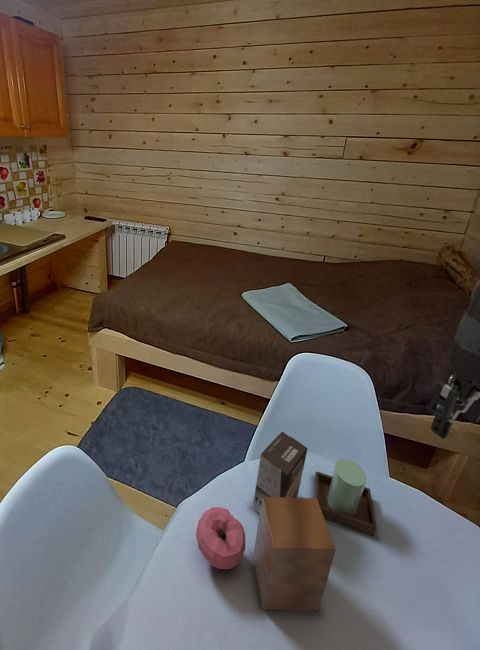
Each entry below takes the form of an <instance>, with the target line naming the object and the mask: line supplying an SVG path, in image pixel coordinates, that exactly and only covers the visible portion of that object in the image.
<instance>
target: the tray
mask: <svg viewBox="0 0 480 650" xmlns="http://www.w3.org/2000/svg"><path fill="white" fill-rule="evenodd" d="M332 476H333V475H329V474H326V473H323V472H321V471H317V470H316V471H315V474H314V478H313V487H314V490H313V491H314V492H313V493H314V495H313V497H314V498H317V500H318V503H319V506H320V508H321V511H322V514H323V516H324V519H325V520H328V521H331V522H334V523H337V524H339V525H341V526H344V527H347V528H351V529H353V530H355V531H358V532H361V533H364V534H366V535H370V536H372V537H374V536H375V534H376V531H377V523H376V517H375V511H374V505H373V500H372V493H371V488H369V487H366V486H365V487H364V491H363V494H362V497H361V501H360V504H359V508H358V511H357V514H356V516H354V517H351V516H348V515H345V514H343V513H340V512H337V511H334V510H332V508H331V507H330V505H329V503H328V499H327V496H328V492H329V488H330V484H331V480H332Z"/></svg>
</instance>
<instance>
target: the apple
mask: <svg viewBox="0 0 480 650" xmlns="http://www.w3.org/2000/svg"><path fill="white" fill-rule="evenodd" d="M197 522H198V523H197V526H196V531H195V537H196V541H197V545H198V546H197V547H198V550H199V552H200V553H201V554H202V556H203V558H204V559H205V560H206V561H207V562H208V563H209V565H210V566H212V567H214V568H217V569H219V570H231V569H233V568H235V567H236V566H237V565H239V564H240V563H241V561H242V558H243V556H244V553H245V551H246V533H245V529H244V527H243V524H242V523H241V522H240V520H238V519H237V518H235V517H234V515H232V514H231V513H230V510H229V509H228V508H224V507H221V506H217V507H215V506H212V507H209V509H207V510H205V511H203V513H202V515H201V517H199V519H198V521H197Z"/></svg>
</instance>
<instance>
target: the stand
mask: <svg viewBox="0 0 480 650" xmlns="http://www.w3.org/2000/svg"><path fill="white" fill-rule="evenodd" d="M336 550H337V548H336V546H335V543H334V541H333V538H332V536H331V532H330V530H329V527H328V525H327V522H326V519H325V518H324V516H323V514H322V511H321V508H320V506H319V503H318V500H317V498H315V497H297V498H283V497H262V503H261V510H260V514H259V516H258V524H257V529H256V536H255V542H254V549H253V557H252V558H253V563H254V568H255V575H256V580H257V586H258V591H259V597H260V604H261V608H262V611H296V612H297V611H302V612H319V611H320V607H321V603H322V600H323V597H324V593H325V589H326V586H327V582H328V579H329V575H330V571H331V568H332V565H333V561H334V557H335V553H336Z"/></svg>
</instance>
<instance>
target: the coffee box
mask: <svg viewBox="0 0 480 650" xmlns="http://www.w3.org/2000/svg"><path fill="white" fill-rule="evenodd" d="M307 453H308V447H307V446H305V445H304V444H303V443H301V442H300V441H299V440H296V439H295V438H294V437H293V436H289V435H288V434H287V433H285V432H283V431H281V432H279V434H278V435H277V436H276V437H275V438H274V439H273V440H272V441H271V442H270V443H269V445H267V447H266V448H265V449H264V450H263V451H262V452H261V453H260V458H259V465H258V471H257V476H256V484H255V490H254V497H253V502H252V509H253V510H255V512H256V513H258V514H259V515H260V510H261V503H262V497H283V498H298V497H299V491H300V487H301V483H302V477H303V472H304V469H305V468H304V467H305V462H306V460H307V459H306V458H307Z"/></svg>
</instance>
